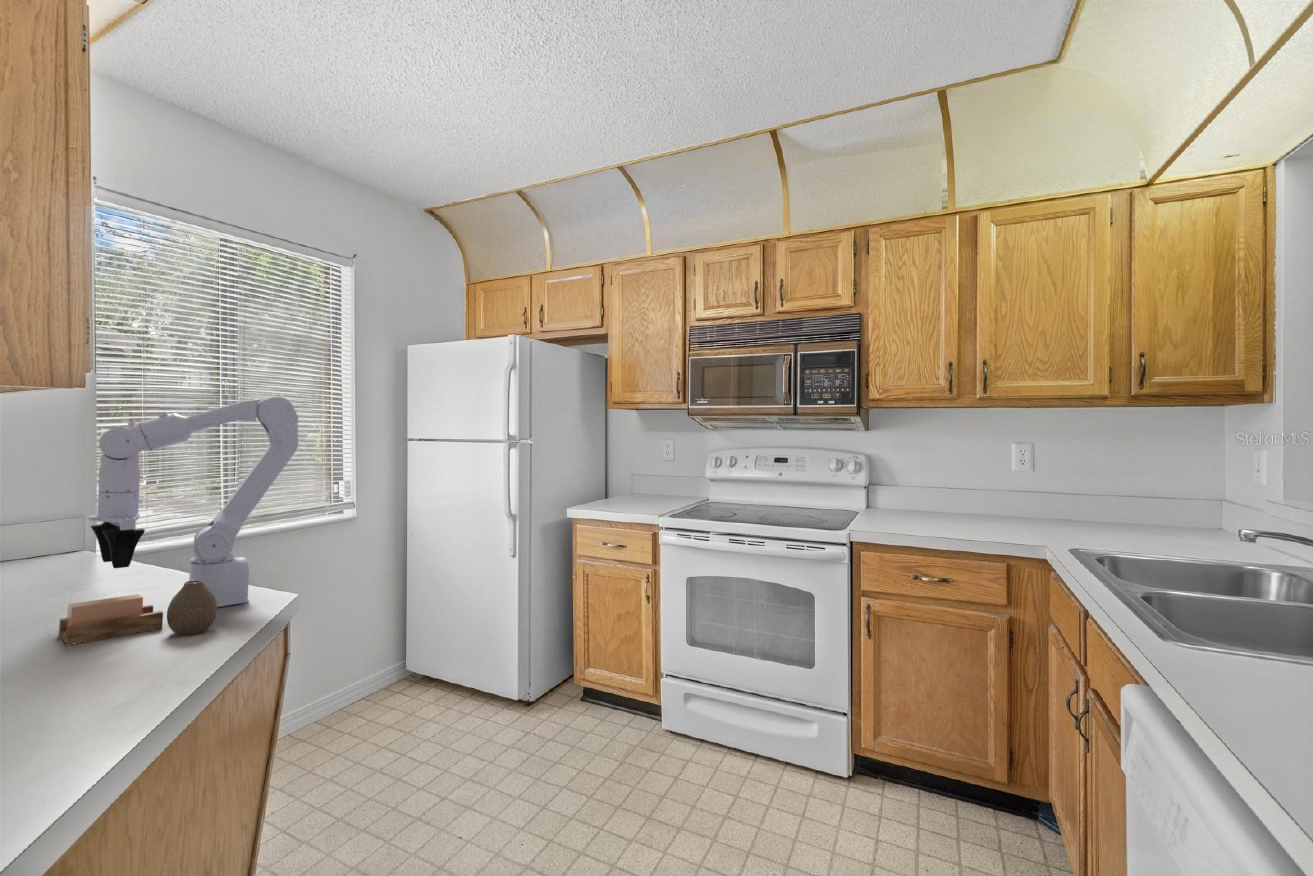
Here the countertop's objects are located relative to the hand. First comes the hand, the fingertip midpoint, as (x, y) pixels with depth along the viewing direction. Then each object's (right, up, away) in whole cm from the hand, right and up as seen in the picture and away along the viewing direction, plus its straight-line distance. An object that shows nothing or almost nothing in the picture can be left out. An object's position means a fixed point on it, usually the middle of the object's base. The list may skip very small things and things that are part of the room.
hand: (115, 564), depth 112 cm
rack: (+8, -10, -9) cm, 15 cm away
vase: (+20, -10, -8) cm, 24 cm away
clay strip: (+7, -9, -10) cm, 15 cm away
